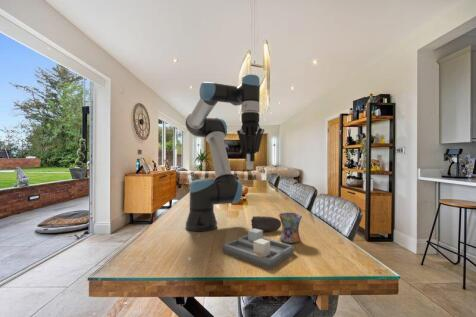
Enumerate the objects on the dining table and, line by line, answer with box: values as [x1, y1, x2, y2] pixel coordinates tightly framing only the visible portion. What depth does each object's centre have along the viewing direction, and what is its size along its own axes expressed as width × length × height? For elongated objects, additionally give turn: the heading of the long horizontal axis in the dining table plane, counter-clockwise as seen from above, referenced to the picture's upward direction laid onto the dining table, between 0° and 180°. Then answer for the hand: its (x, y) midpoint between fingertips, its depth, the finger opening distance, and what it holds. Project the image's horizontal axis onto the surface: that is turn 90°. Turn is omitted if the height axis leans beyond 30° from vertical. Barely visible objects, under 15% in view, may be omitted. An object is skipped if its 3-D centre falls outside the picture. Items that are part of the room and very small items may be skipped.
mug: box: [278, 212, 303, 244], centre depth 98 cm, size 12×9×11 cm
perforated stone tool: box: [250, 215, 282, 233], centre depth 109 cm, size 15×5×7 cm, turn 100°
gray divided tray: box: [222, 234, 295, 270], centre depth 84 cm, size 20×16×3 cm
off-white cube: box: [253, 238, 270, 257], centre depth 78 cm, size 4×4×4 cm
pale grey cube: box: [247, 228, 264, 242], centre depth 90 cm, size 4×4×4 cm
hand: (249, 169), depth 98 cm, fingers closed
